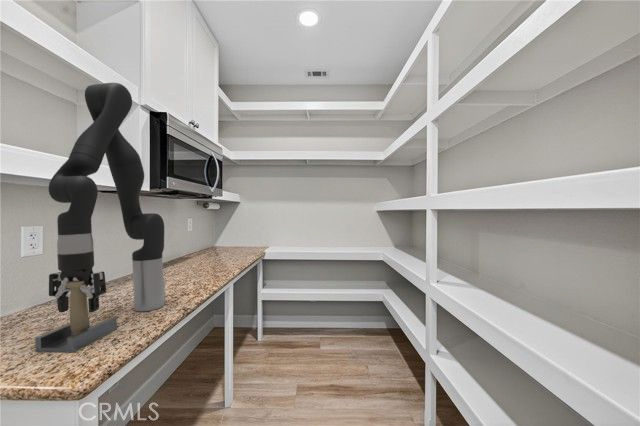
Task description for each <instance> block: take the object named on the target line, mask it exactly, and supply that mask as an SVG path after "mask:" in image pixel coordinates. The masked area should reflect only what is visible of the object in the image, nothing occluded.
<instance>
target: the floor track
mask: <svg viewBox="0 0 640 426" xmlns="http://www.w3.org/2000/svg"><path fill="white" fill-rule="evenodd" d="M117 323H118V321H117V317H116V316H111V317H109V318H107V319H105V320H103V321H100V322H98V323H96V324H94V325H90V317H89V316H88V327H87V329H85V330H83V331H81V332H79V333H77V334H75V335H73V336H72V334H71V332H72V331H71V327H70V322H69V323H67V324H65V325H62V326H59V327H57V328H56V329H52V330H51V331H48V332H45V333H43V334H41V335H38V336H36V337H35V338H34V341H35V342H34V343H35V353H75V352H78V351H79V350H81V349H83V348H84V347H86V346H89V345H90V344H92V343H94V342H95V341H97V340H99V339H101V338H103V337H105V336H107V335H109V334H111V333H113V332H114V331H117V330H118V324H117Z"/></svg>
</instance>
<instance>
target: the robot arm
mask: <svg viewBox="0 0 640 426" xmlns="http://www.w3.org/2000/svg"><path fill="white" fill-rule="evenodd" d="M84 100H85V104H86V106H87V109H88V112H89V114H90V116H91V118H92V121H93V122H92V123H91V124H90V125H89V126H88V127H87V128H86V129H85V130H84V131H83V132H82V133H81V134H80V135H79V136H78V138H77V139H76V141H75V142H74V144H73V147H72V150H71V152H70V153H69V156H68V158H67V160H66V161H65V162H64V163H63V164H62V165H61V166H60V167H59V169H58V170H57V171H56V172H55V174H54V175H53V176H52V177H51V179H50V180H49V183H48V193H49V196H50V197H51V199H53V200H54V202H56V203H57V202H58V203H61V204H69V205H70V206H69V208H68V210H67V211H64V212H61V213H60V214H58V216H57V222H56V223H57V241H56V250H57V251H56V252H57V256H56V257H57V270H58V271H57V272H54V273H50V274H49V275H48V295H49V296H50V297H54V298H55V299H56V300H57V305H56V306H57V311H58V313H65V312H67V311H69V310H70V303H69V296H68V295H69V294H70V293H71V290H70V289H69V288H67V287H66V282H69V281H74V282H81V281H84V283H85V285H86V284H87V285H86V286H85V285H84V284H82V286H81V287H80V289H81V290H82V292H84V293H86V294H87V297H88V298H87V305H88V313H94V312H97V311H98V310H99V308H100V296H101V295H103V294H106V293H107V283H106V282H107V281H106V274H105V271H98V272H94V271H93V267H94V266H95V251H94V250H95V247H94V238H93V229H92V217H93V214H94V211H95V207H96V203H97V199H98V186H97V184H96V182H95V181H94V180H93V179H92V178H91V177H89V176H91V175H94V174H95V173H96V174H97V172H98V171H99V169H100V168H101V165H102V163H103V159H104V158H105V157H106V159H107V165H108V168H109V171H110V174H111V176H112V180H113V182H114V186H115V189H116V193H117V197H118V200H119V204H120V210H121V215H122V221H123V226H124V229H125V232H126V234H127V236H128V237H129V238H130V239H132V240H135V241H136V240H139V241H142V240H143V243H142V244H143V245H142V247H141V248H139V249H137V250H134V251H133V252H132V253H131V254H132V255H131V256H132V257H131V260H132V261H131V262H132V282H133V283H132V284H133V288H132V289H133V310H134V311H136V312H149V311H154V310H157V309H160V308H162V307H163V306H165V303H166V290H165V287H166V286H165V277H164V268H163V267H164V265H163V252H164V250H165V223H164V219H163V217H162V216H161V215H160V214H158V213H153V212H152V213H150V212H149V213H143V211H142V207H141V203H140V195H141V190H142V187H143V184H144V181H145V170H144V167H143V164H142V159H141V157H140V155H139V153H138V151H137V150H136V149H135V148H134V147H133V145H132V144H131V143H130V142H129V141H128V140H127V139H126V138H125V137H124V135H123V134H122V133H121V131H120V126H121V125H122V124H123V122H124V120H125V118H127V116H128V115H129V113H130V112H131V110H132V106H133V97H132V95H131V93H130V91H129V89H128V88H127V87H126V86H125V85H123V84H122V83H120V82H105V83H103V82H102V83H96V84H91V85H87V87H86V88H85V89H84ZM104 156H105V157H104Z"/></svg>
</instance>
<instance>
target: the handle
mask: <svg viewBox="0 0 640 426" xmlns="http://www.w3.org/2000/svg"><path fill="white" fill-rule="evenodd" d="M82 284H84V285H85V283H84V281H81V282H74V281H69V282H66V287H67V288H69V289H70V299H69V300H70V302H69V323H70V327H71V331H72V332H71V334H72V336H73V335H75V334H77V333H79V332H81V331H83V330H85V329H87V327H88V317H89V304H88V298H87V297H88V296H87V294H86V293H84V292H82V290H81V289H80V287H81V286H82ZM86 285H87V284H86ZM86 285H85V286H86Z"/></svg>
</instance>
